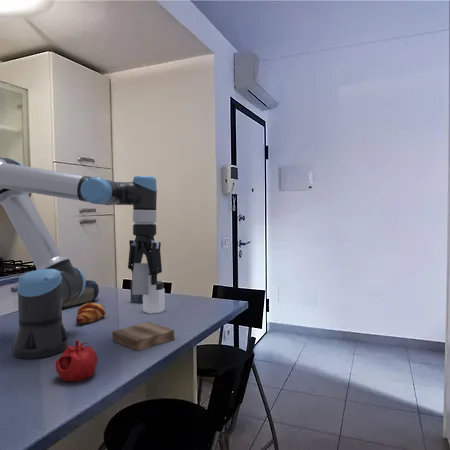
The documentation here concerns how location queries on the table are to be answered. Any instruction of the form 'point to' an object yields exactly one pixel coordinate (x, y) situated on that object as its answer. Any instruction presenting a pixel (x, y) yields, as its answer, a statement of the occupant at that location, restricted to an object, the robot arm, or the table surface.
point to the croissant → (90, 313)
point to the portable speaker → (86, 294)
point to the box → (136, 297)
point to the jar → (155, 300)
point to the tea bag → (140, 279)
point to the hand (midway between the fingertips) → (144, 292)
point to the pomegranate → (76, 363)
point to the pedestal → (143, 335)
